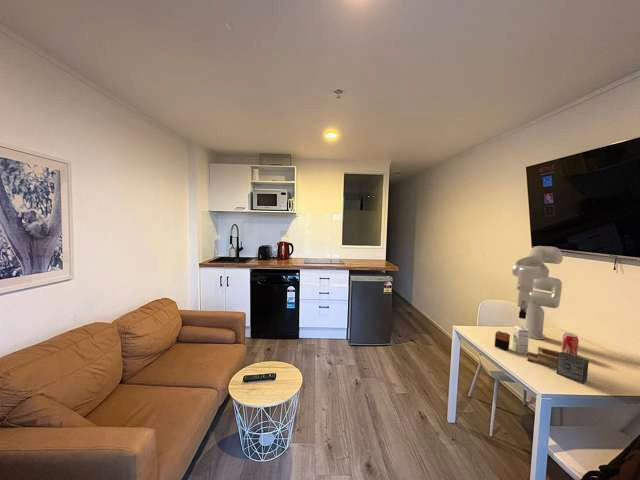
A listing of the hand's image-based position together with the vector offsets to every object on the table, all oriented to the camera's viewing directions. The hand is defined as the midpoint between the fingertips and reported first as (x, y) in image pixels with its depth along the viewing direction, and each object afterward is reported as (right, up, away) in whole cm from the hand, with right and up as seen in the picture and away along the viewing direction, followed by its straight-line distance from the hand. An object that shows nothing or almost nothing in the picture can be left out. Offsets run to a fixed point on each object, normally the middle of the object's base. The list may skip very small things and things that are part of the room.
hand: (522, 316), depth 162 cm
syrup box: (0, -22, +2) cm, 22 cm away
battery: (-9, -21, +6) cm, 24 cm away
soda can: (+27, -23, 0) cm, 36 cm away
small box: (+6, -24, -25) cm, 35 cm away
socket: (+7, -23, -12) cm, 26 cm away
